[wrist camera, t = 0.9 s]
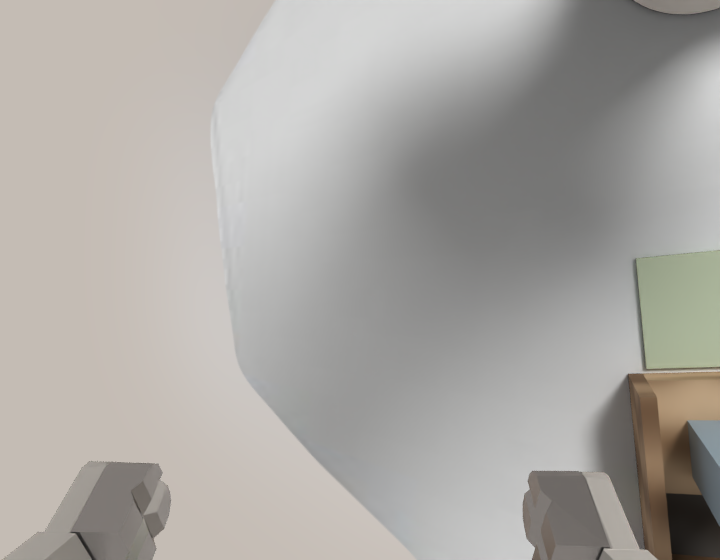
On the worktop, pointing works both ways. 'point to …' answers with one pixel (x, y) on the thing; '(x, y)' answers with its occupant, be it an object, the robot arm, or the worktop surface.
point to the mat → (680, 309)
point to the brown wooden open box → (673, 462)
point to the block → (706, 460)
